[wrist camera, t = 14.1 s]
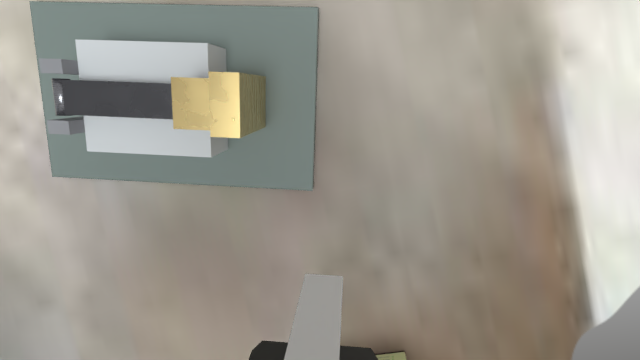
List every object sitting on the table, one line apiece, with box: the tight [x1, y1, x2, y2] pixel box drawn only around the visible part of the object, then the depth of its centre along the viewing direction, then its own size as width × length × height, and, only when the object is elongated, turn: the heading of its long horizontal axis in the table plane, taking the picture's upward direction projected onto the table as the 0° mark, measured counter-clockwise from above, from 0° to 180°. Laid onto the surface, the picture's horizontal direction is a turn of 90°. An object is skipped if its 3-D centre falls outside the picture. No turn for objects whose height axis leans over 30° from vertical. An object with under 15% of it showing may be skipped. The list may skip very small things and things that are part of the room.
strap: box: [51, 78, 173, 119], centre depth 34 cm, size 15×3×1 cm, turn 88°
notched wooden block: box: [171, 72, 266, 138], centre depth 34 cm, size 5×5×9 cm
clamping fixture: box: [30, 1, 319, 191], centre depth 37 cm, size 29×18×8 cm, turn 88°
